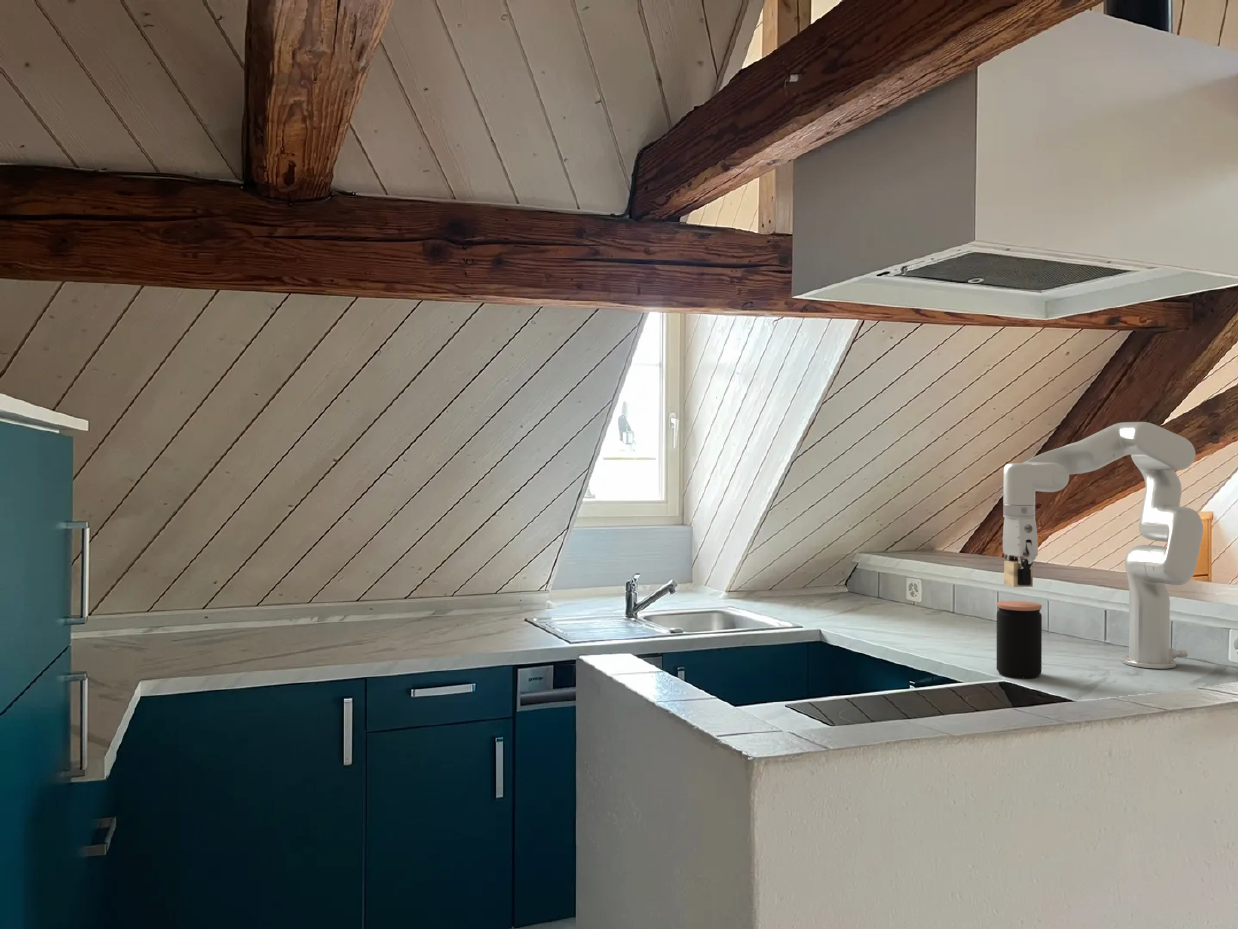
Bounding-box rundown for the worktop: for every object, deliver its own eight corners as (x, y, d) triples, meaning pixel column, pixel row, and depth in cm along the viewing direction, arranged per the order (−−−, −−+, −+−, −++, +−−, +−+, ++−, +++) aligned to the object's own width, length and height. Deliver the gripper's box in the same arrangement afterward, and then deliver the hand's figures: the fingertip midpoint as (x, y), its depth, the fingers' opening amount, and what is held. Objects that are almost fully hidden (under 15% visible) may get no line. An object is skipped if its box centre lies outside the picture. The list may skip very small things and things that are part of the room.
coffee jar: (1030, 669, 259) (1030, 600, 258) (1049, 679, 248) (1049, 607, 248) (989, 670, 258) (989, 600, 258) (1007, 679, 248) (1007, 607, 247)
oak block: (1022, 584, 255) (1023, 560, 255) (1032, 586, 250) (1032, 562, 250) (1004, 584, 255) (1004, 560, 255) (1013, 587, 250) (1013, 563, 250)
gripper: (1050, 513, 244) (1050, 588, 245) (1017, 509, 261) (1016, 579, 261) (1021, 514, 244) (1020, 588, 244) (989, 510, 261) (988, 579, 261)
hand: (1018, 582), depth 253 cm, fingers closed on oak block, 5 cm apart
